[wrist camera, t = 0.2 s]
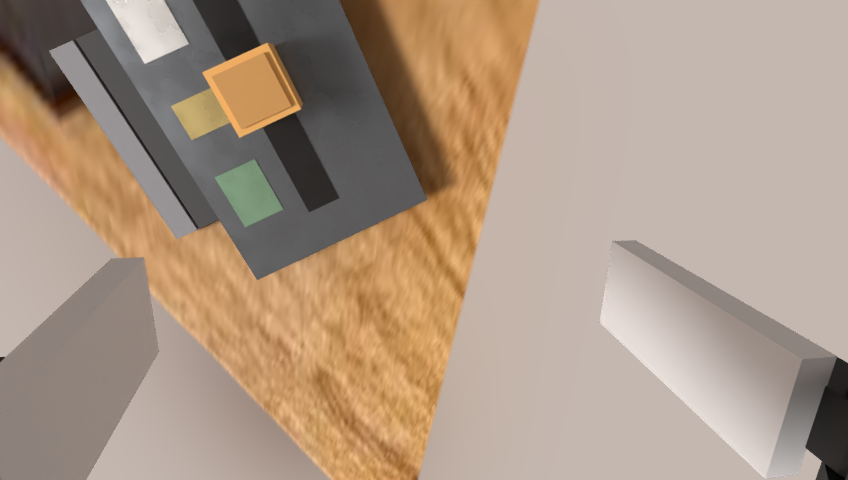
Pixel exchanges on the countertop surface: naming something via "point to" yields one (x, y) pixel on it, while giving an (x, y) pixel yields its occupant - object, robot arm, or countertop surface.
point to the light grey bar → (123, 137)
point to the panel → (278, 141)
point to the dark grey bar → (146, 126)
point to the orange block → (254, 89)
